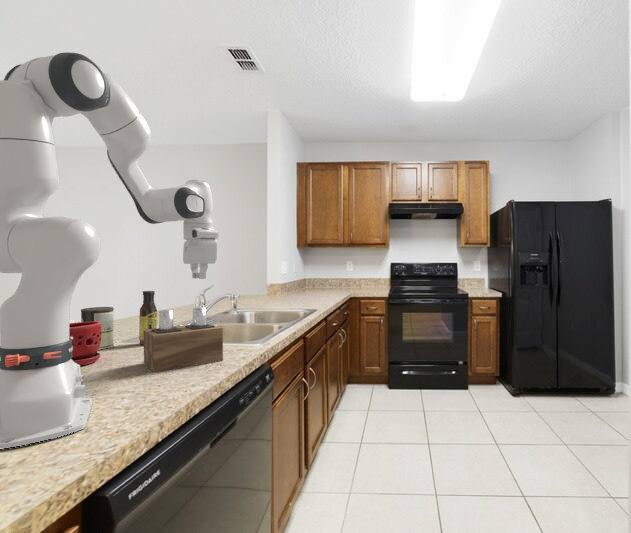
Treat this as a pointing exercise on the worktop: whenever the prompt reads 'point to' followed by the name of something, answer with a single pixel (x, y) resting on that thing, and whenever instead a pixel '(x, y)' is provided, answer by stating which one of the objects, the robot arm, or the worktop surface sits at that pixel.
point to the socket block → (182, 346)
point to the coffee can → (106, 321)
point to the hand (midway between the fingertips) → (198, 278)
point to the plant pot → (85, 341)
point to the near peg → (166, 320)
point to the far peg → (199, 317)
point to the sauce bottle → (147, 315)
